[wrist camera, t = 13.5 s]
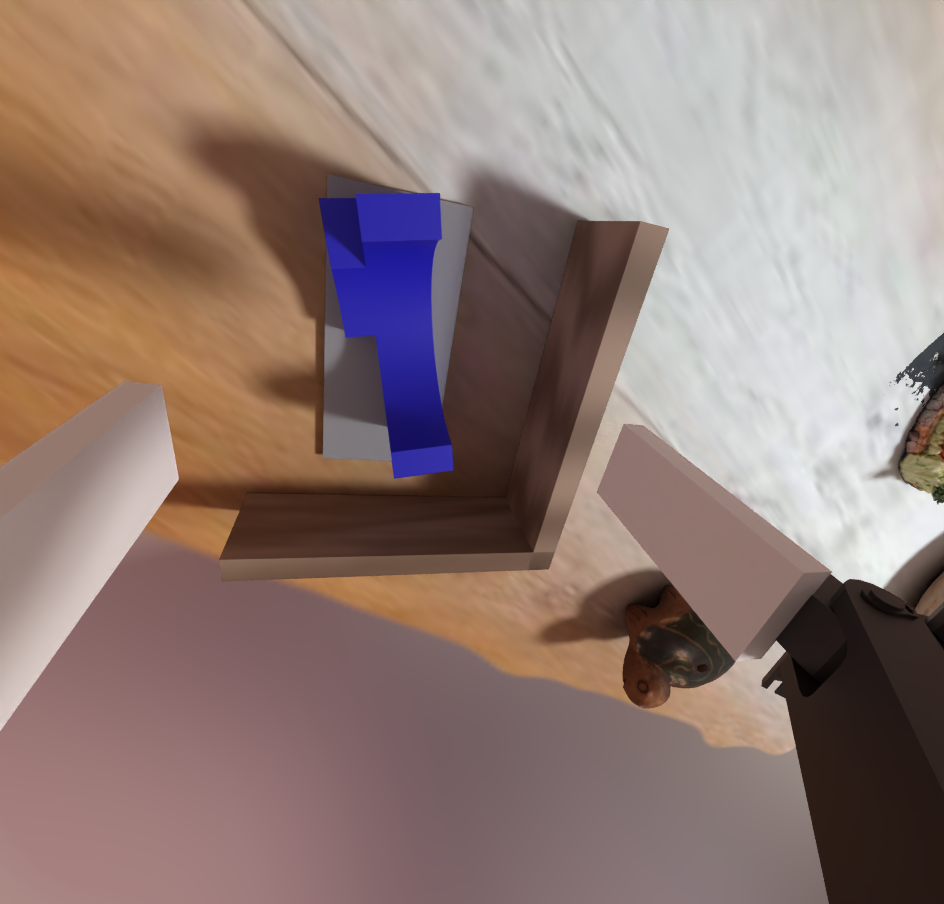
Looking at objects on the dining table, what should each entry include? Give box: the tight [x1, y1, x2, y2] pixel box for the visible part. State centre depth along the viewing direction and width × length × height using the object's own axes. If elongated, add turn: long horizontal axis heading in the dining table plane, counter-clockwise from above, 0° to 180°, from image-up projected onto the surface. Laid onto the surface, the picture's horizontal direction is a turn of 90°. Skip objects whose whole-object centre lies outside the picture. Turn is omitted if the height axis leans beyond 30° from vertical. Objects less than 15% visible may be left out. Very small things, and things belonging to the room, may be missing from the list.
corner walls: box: [219, 221, 669, 581], centre depth 22 cm, size 20×19×6 cm
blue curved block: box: [319, 193, 453, 479], centre depth 20 cm, size 12×4×6 cm, turn 1°
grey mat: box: [323, 174, 474, 461], centre depth 23 cm, size 15×7×1 cm, turn 169°
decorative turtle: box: [623, 585, 735, 708], centre depth 40 cm, size 10×15×8 cm, turn 121°
